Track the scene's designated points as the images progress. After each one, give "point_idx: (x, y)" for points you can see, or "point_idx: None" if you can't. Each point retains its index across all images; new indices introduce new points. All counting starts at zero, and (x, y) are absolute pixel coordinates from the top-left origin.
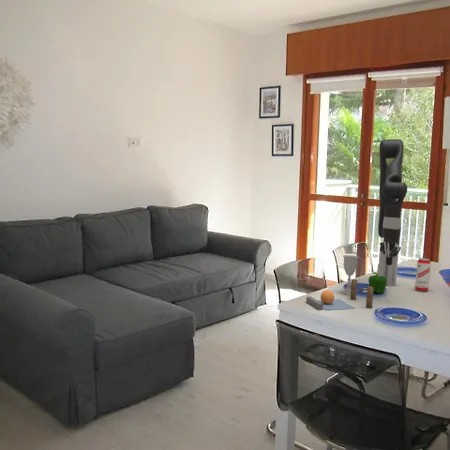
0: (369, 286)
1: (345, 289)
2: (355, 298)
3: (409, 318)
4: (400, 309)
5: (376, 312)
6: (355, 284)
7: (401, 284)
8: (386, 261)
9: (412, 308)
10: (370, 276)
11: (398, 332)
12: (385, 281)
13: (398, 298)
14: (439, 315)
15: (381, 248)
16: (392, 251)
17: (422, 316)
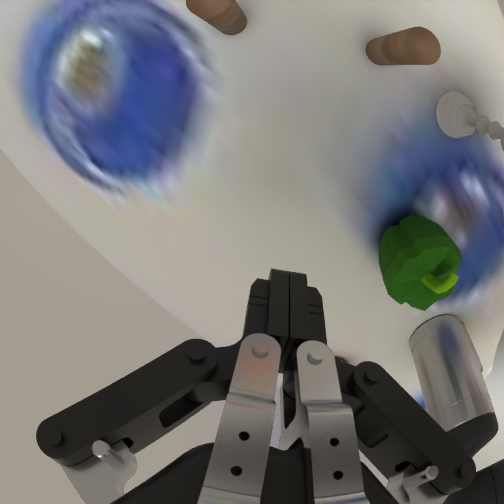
0: (227, 2)
1: (469, 102)
2: (367, 51)
3: (70, 103)
4: (162, 140)
5: (157, 14)
6: (395, 38)
7: (402, 361)
8: (298, 294)
9: (164, 198)
10: (456, 258)
11: (8, 12)
12: (385, 282)
13: (299, 250)
14: (87, 225)
15: (434, 420)
16: (143, 405)
17: (81, 163)
